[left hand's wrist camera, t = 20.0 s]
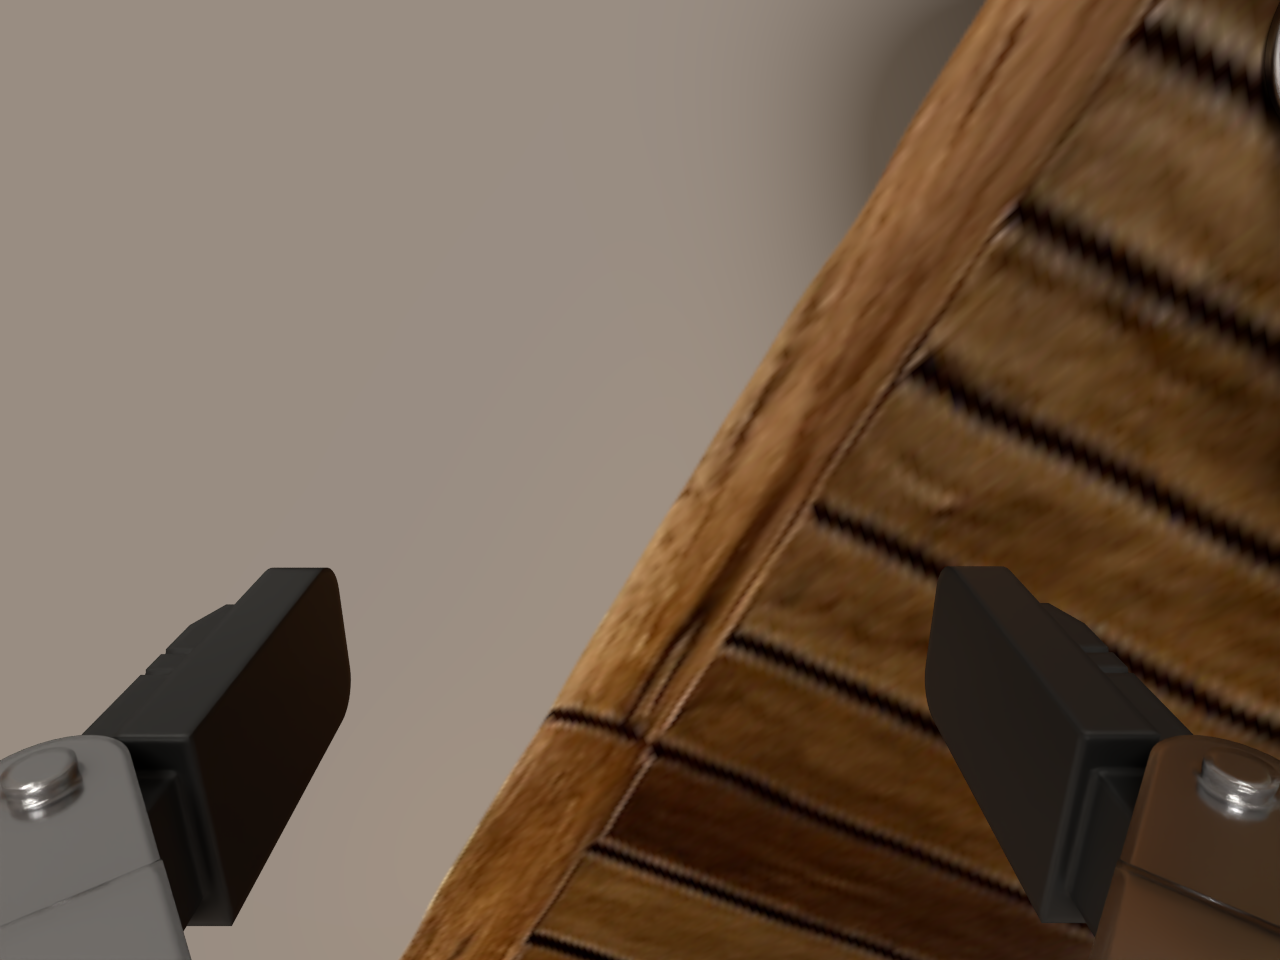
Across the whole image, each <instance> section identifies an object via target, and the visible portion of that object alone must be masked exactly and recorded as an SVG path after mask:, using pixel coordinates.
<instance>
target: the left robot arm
mask: <svg viewBox="0 0 1280 960" xmlns="http://www.w3.org/2000/svg"><path fill="white" fill-rule="evenodd" d="M1265 76H1266V84H1267V89H1268V93H1269V96H1270V99H1271V102H1272V105H1273V107H1274V109H1275V111H1276V113H1277V115H1278V116H1279V118H1280V3H1279V5H1278V8H1277V10H1276V12H1275V15H1274V18H1273V21H1272V24H1271V27H1270V31H1269V35H1268V39H1267V46H1266V53H1265ZM350 686H351V673H350V665H349V658H348V650H347V644H346V637H345V629H344V622H343V615H342V608H341V601H340V594H339V587H338V582H337V579H336V576H335V574H334V572H333V571H332V570H331V569H330V568H270V569H268V570H267V571H265V572H264V574H263V575H262V576H261V577H260V578H259V579H258V580H257V581H256V582H255V583H254V584H253V585H252V586H251V587H250V589H249V590H248V591H247V592H246V593H245V594H244V595H243V596H242V597H241V598H240V599H239V600H238V601H237V603H236V604H235V605H225V606H223V607H221V608H219V609H218V610H216V611H214V612H212V613H211V614H209V615H207V616H205V617H204V618H202V619H200V620H198V621H196V622H195V623H193V624H191V625H190V626H189V627H188V628H187V629H186V630H185V631H184V632H183V633H182V634H181V635H180V636H179V637H178V638H177V639H176V640H175V641H174V642H173V643H172V644H171V645H170V646H169V647H168V648H167V649H166V654H161V655H160V656H159V657H158V658H157V659H156V660H155V661H154V662H153V663H152V664H151V665H150V666H149V667H148V668H147V669H146V674H145V675H140V676H139V677H138V678H137V679H136V680H135V681H134V682H133V683H132V684H131V685H130V686H129V687H128V688H127V689H126V690H125V691H124V693H122V694H121V695H120V696H119V697H118V699H116V700H115V701H114V703H113V704H112V705H111V706H110V707H109V708H108V709H107V710H106V711H105V712H104V713H103V714H102V715H101V716H100V717H99V718H98V719H97V720H96V721H95V722H94V723H93V724H92V725H91V726H90V727H89V728H88V729H87V730H86V731H85V732H84V733H83V734H82V735H79V736H71V737H65V738H60V739H55V740H51V741H47V742H44V743H40V744H37V745H34V746H32V747H29V748H26V749H23V750H21V751H19V752H17V753H14V754H12V755H10V756H8V757H6V758H4V759H2V760H0V960H191V957H190V953H189V950H188V946H187V943H186V939H185V936H184V932H183V931H184V929H185V928H186V926H232V924H233V923H234V921H235V919H236V917H237V915H238V913H239V911H240V910H241V908H242V906H243V904H244V902H245V900H246V898H247V897H248V895H249V893H250V891H251V889H252V887H253V885H254V884H255V882H256V880H257V878H258V876H259V874H260V873H261V871H262V869H263V867H264V865H265V863H266V861H267V860H268V858H269V856H270V854H271V852H272V850H273V848H274V847H275V845H276V843H277V841H278V839H279V837H280V835H281V834H282V832H283V830H284V828H285V826H286V824H287V822H288V821H289V819H290V817H291V815H292V813H293V811H294V809H295V808H296V806H297V804H298V802H299V800H300V798H301V797H302V795H303V793H304V791H305V789H306V787H307V785H308V783H309V782H310V780H311V778H312V776H313V774H314V772H315V770H316V769H317V767H318V765H319V763H320V761H321V759H322V758H323V756H324V754H325V752H326V750H327V748H328V746H329V745H330V743H331V741H332V739H333V737H334V735H335V733H336V732H337V730H338V728H339V726H340V724H341V722H342V720H343V718H344V716H345V713H346V710H347V706H348V702H349V696H350ZM925 689H926V697H927V702H928V706H929V710H930V713H931V716H932V718H933V720H934V722H935V724H936V725H937V727H938V729H939V731H940V733H941V735H942V737H943V739H944V740H945V742H946V744H947V746H948V748H949V750H950V752H951V754H952V755H953V757H954V759H955V761H956V763H957V765H958V767H959V769H960V770H961V772H962V774H963V776H964V778H965V780H966V782H967V784H968V785H969V787H970V789H971V791H972V793H973V795H974V797H975V799H976V800H977V802H978V804H979V806H980V808H981V810H982V812H983V814H984V816H985V817H986V819H987V821H988V823H989V825H990V827H991V829H992V831H993V832H994V834H995V836H996V838H997V840H998V842H999V844H1000V846H1001V847H1002V849H1003V851H1004V853H1005V855H1006V857H1007V859H1008V861H1009V862H1010V864H1011V866H1012V868H1013V870H1014V872H1015V874H1016V876H1017V877H1018V879H1019V881H1020V883H1021V885H1022V887H1023V889H1024V891H1025V892H1026V894H1027V896H1028V898H1029V900H1030V902H1031V904H1032V906H1033V907H1034V909H1035V911H1036V913H1037V915H1038V917H1039V919H1040V921H1041V922H1042V923H1087V925H1088V927H1089V928H1090V930H1091V932H1092V933H1093V935H1094V937H1095V939H1094V943H1093V946H1092V950H1091V953H1090V957H1089V960H1280V760H1278V759H1276V758H1274V757H1272V756H1270V755H1268V754H1266V753H1263V752H1261V751H1259V750H1257V749H1254V748H1251V747H1248V746H1246V745H1243V744H1240V743H1236V742H1233V741H1229V740H1225V739H1220V738H1216V737H1209V736H1201V735H1193V734H1192V733H1191V732H1190V731H1189V730H1188V729H1187V728H1186V727H1185V726H1184V725H1183V724H1182V723H1181V722H1180V721H1179V720H1178V719H1177V718H1176V717H1175V716H1174V714H1173V713H1172V712H1171V711H1170V710H1169V709H1168V708H1167V707H1166V706H1165V705H1164V704H1163V703H1162V702H1161V701H1160V700H1159V699H1158V698H1157V697H1156V696H1155V695H1154V694H1153V693H1152V692H1151V691H1150V690H1149V689H1148V688H1147V687H1146V686H1145V685H1144V684H1143V683H1142V682H1141V681H1140V680H1139V679H1138V678H1137V677H1136V676H1135V675H1134V674H1133V673H1128V667H1127V666H1126V665H1125V664H1124V663H1123V662H1122V661H1121V660H1120V659H1119V658H1118V657H1117V656H1116V655H1115V654H1114V653H1109V652H1108V647H1107V646H1106V645H1105V644H1104V643H1103V642H1102V641H1101V640H1100V639H1099V638H1098V637H1097V636H1096V635H1095V634H1094V633H1093V632H1092V631H1091V630H1090V629H1089V628H1088V627H1087V626H1086V625H1085V624H1084V623H1083V622H1081V621H1079V620H1077V619H1076V618H1074V617H1072V616H1070V615H1068V614H1067V613H1065V612H1063V611H1061V610H1060V609H1058V608H1056V607H1054V606H1053V605H1051V604H1049V603H1039V602H1038V601H1037V599H1036V598H1035V597H1034V596H1033V595H1032V594H1031V593H1030V592H1029V591H1028V590H1027V589H1026V587H1025V586H1024V585H1023V584H1022V583H1021V582H1020V581H1019V580H1018V579H1017V578H1016V577H1015V576H1014V574H1013V573H1012V572H1011V571H1010V570H1009V569H1008V568H1006V567H1001V566H947V567H945V568H944V569H943V570H942V572H941V573H940V576H939V579H938V583H937V588H936V596H935V603H934V610H933V617H932V624H931V632H930V639H929V646H928V653H927V660H926V668H925Z"/></svg>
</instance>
